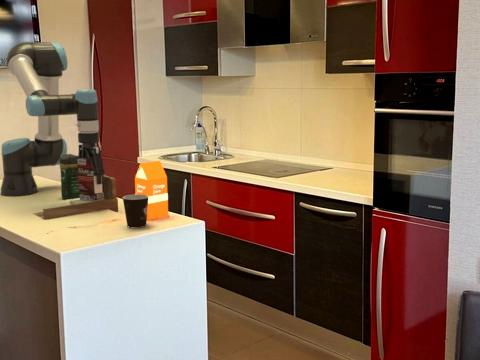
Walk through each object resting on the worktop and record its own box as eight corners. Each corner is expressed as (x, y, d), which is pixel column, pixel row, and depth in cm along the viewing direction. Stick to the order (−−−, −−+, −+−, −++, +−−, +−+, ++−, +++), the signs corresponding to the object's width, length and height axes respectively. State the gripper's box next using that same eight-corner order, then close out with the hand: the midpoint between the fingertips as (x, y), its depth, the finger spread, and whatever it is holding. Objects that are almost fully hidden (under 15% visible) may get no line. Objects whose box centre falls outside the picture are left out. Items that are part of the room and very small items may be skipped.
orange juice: (136, 216, 216) (133, 162, 212) (155, 212, 222) (153, 159, 218) (148, 220, 210) (146, 164, 207) (168, 216, 216) (167, 161, 213)
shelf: (32, 217, 216) (30, 183, 214) (104, 205, 233) (102, 174, 231) (45, 223, 207) (42, 188, 205) (118, 211, 224) (116, 178, 222)
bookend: (69, 200, 222) (92, 197, 227) (70, 208, 223) (92, 205, 228) (78, 204, 216) (101, 201, 221) (78, 212, 216) (101, 209, 222)
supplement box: (78, 200, 223) (76, 158, 220) (87, 197, 227) (85, 156, 224) (96, 202, 219) (94, 159, 216) (105, 199, 223) (103, 157, 220)
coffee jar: (86, 199, 246) (84, 154, 242) (67, 202, 241) (65, 156, 238) (77, 195, 253) (74, 152, 250) (59, 198, 249) (56, 154, 245)
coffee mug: (138, 221, 210) (136, 193, 208) (154, 224, 204) (153, 196, 203) (111, 227, 201) (110, 198, 199) (128, 232, 196) (127, 202, 194)
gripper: (65, 130, 225) (69, 187, 229) (92, 135, 207) (95, 196, 211) (84, 129, 230) (87, 184, 234) (112, 133, 212) (115, 194, 216)
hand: (91, 190), depth 223 cm, fingers open, 11 cm apart
